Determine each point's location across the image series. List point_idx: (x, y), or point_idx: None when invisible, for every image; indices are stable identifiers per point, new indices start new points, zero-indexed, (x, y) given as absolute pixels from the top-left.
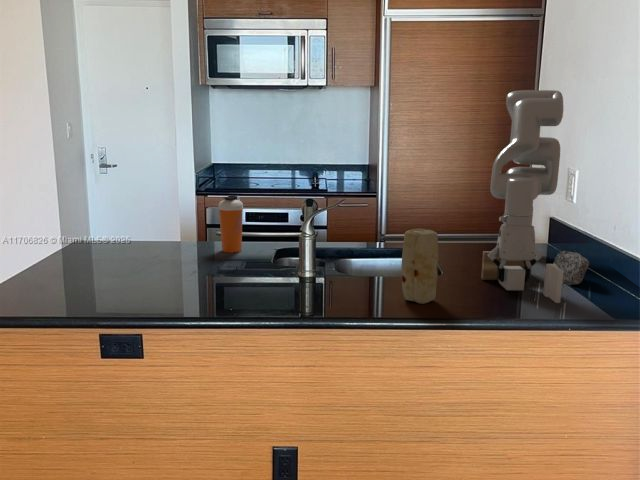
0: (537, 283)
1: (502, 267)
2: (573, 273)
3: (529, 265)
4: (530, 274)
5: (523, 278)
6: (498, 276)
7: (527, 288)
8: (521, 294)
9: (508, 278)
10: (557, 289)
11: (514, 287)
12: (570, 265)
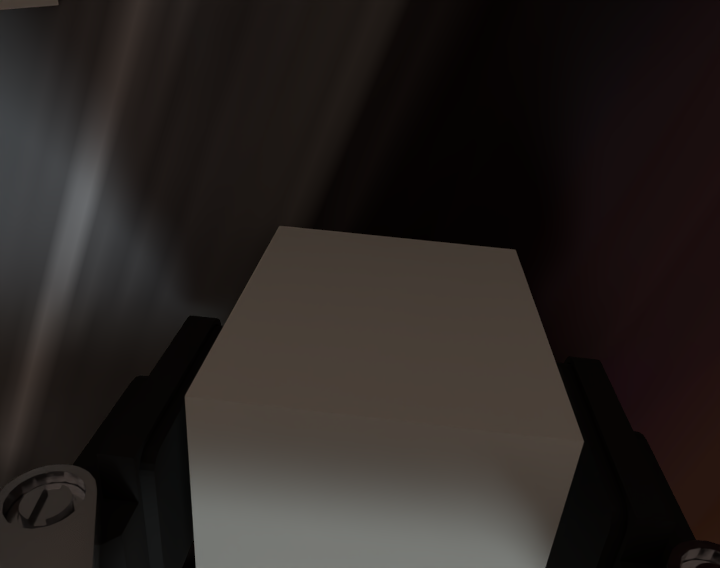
0: (31, 444)
1: (678, 560)
2: None
3: (31, 533)
4: None
5: (256, 309)
6: (645, 448)
7: (202, 293)
8: (392, 33)
9: (531, 334)
10: None
11: (407, 256)
12: None
